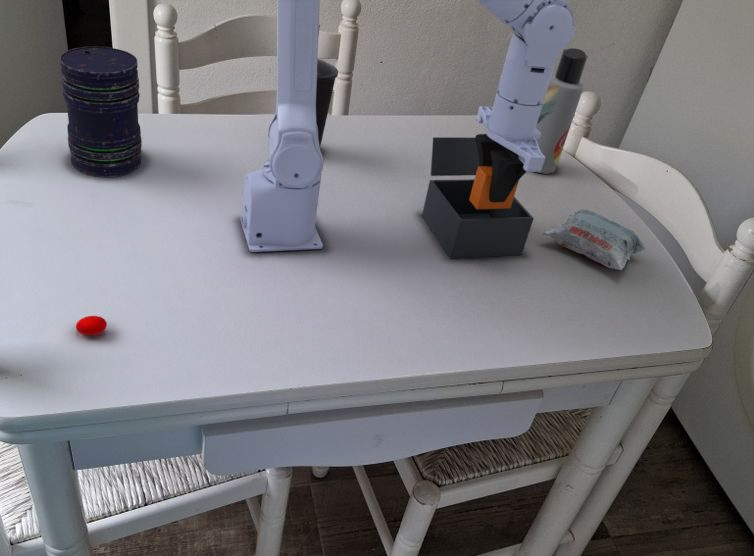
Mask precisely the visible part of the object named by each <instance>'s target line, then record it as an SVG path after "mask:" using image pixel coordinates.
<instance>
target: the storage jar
mask: <svg viewBox="0 0 754 556" xmlns="http://www.w3.org/2000/svg"><path fill="white" fill-rule="evenodd" d="M59 61H60V62H59V64H60V66H61V68H60V71H61V76H60V78H61V87H62V90H63V91H62V95H63V99H64V102H66V110H67V120H68V123H67V128H66V129H67V143H68V148H69V154H70V155H71V156H70V163H71V166H72V167H73V168H74V170H76V171H77V172H78V173H80V174H83V175H87V176H91V177H96V178H97V177H98V178H117V177H122V176H126V175H129V174H132V173H134V172H135V171H137V170H138V169H139V168H140V167H141V166H142V163H143V161H142V159H143V158H142V155H141V154H142V146H143V144H142V143H143V142H142V131H141V125H140V124H139V107H138V103H139V101H140V96H141V94H140V79H139V71H138V67H139V66H138V58H137V57H136V55H134V54H132V53H130V52H129V51H126V50H123V49H119V48H115V47H108V46H82V47H76V48H72V49H69V50H67V51H64V52H63V53H61V55H60V57H59Z"/></svg>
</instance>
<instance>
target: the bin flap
mask: <svg viewBox="0 0 754 556" xmlns="http://www.w3.org/2000/svg"><path fill="white" fill-rule="evenodd" d="M431 147H432V149H431V164H430V177H455V176H460V177H461V176H476V172H477V168H478V166H479V154H478V149H477V145H476V141H475V137H469V136H468V137H467V136H466V137H461V136H460V137H457V136H455V137H453V136H452V137H449V136H448V137H447V136H445V137H444V136H443V137H441V136H439V137H437V136H435V137H432V146H431Z"/></svg>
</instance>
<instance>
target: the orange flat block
mask: <svg viewBox="0 0 754 556" xmlns="http://www.w3.org/2000/svg"><path fill="white" fill-rule="evenodd" d="M474 179H475V180H474V184H473V187H472V191H471V195H470V199H469V200H470V201H471V203H472V204H473V205H474V207H475V208H476V209H506V208H511V205H512V202H513V198H514V197H515V195H516V192H517V188H518V185H519V183H520V182H519V181H520V180H519V181H518V182H517V183H516V185H515V186H514V188H513V189H512V191H511V193H510V194H509V196H508V197H507V199H506V201H505V202H491V201H490V200H489V191H490V185H491V180H492V166H478V168H477V172H476V175H474Z"/></svg>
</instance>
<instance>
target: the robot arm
mask: <svg viewBox="0 0 754 556" xmlns="http://www.w3.org/2000/svg"><path fill="white" fill-rule="evenodd" d="M476 1H477V2H478V3H479V4H480V5H482V6H483V7H484V8H485V9H486V10H488V11H489V12H490V13H491V14H492V15H493V16H495V17H496V18H497V19H499V21H501V22H502V23H503V24H504V25H506V26H508V27H510V28H511V30H512V31H513V32H512V34H511V39H510V42H509V46H508V50H507V53H506V57H505V60H504V64H503V68H502V71H501V74H500V79H499V82H498V86H497V90H496V93H495V97H494V101H493V105H492V106H479V107H478V111H477V114H476V119H475V121H476V122H477V123H478V124H483V128H484V132H485V133H478V134H476V135H475V137H474V138H475V141H476V145H477V149H478V154H479V166H492V180H491V185H490V191H489V200H490V201H491V202H505V201H506V199H507V197H508V196H509V194H510V193H511V191H512V189H513V188H514V186H515V185H516V183H517V182H518V181H520V180H521V178H522V177H523V176H524V175H525V174H526V173H529V172H530V173H537V172H540V171H541V170H542V167H543V163H544V160H545V156H544V155H543V154H542V153H541V151H540V148H539V145H538V143H537V140H536V139H539V138H540V136H541V133H540V132H539V131H538V130H537V129H536V125H537V122H538V119H539V116H540V112H541V109H542V106H543V103H544V100H545V96H546V93H547V90H548V87H549V83H550V80H551V77H552V76H553V74H554V70H555V67H556V63H557V59H558V57H559V54H560V52H561V51H562V50H564V49H565V48H566V47H567V46H568V45H569V44H570V43H571V41H572V40H573V38H574V36H575V35H576V33H577V29H576V28H575V27H574V26H575V16H574V11H573V9H572V7H571V5H569V3H568V2H566V1H565V0H476ZM320 3H321V0H276V97H275V112H274V115H273V117H272V119H271V121H270V123H269V125H268V130H267V136H268V140H269V157H268V159H267V160H266V162H264V164H263V168H261V169H258V170H255V171H251V172H246V173H244V176H243V183H242V197H241V198H242V200H241V216H240V223H241V227H242V230H243V233H244V237H245V240H246V244H247V247H248V249H249V252H252V253H260V252H261V253H262V252H279V251H280V252H282V251H283V252H284V251H298V250H299V251H303V250H320V249H323V247H324V244H323V242H322V239H321V237H320V235H319V233H318V230H317V228H316V222H317V213H318V206H319V205H318V204H319V198H320V188H321V181H322V172H323V169H324V162H325V161H324V156H323V154H322V151H321V146H319V140H318V127H317V124H316V86H317V60H318V59H319V57H318V56H319V37H318V33H319V34H320V28H319V25H320V5H321V4H320ZM536 171H537V172H536ZM518 183H519V182H518Z"/></svg>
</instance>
